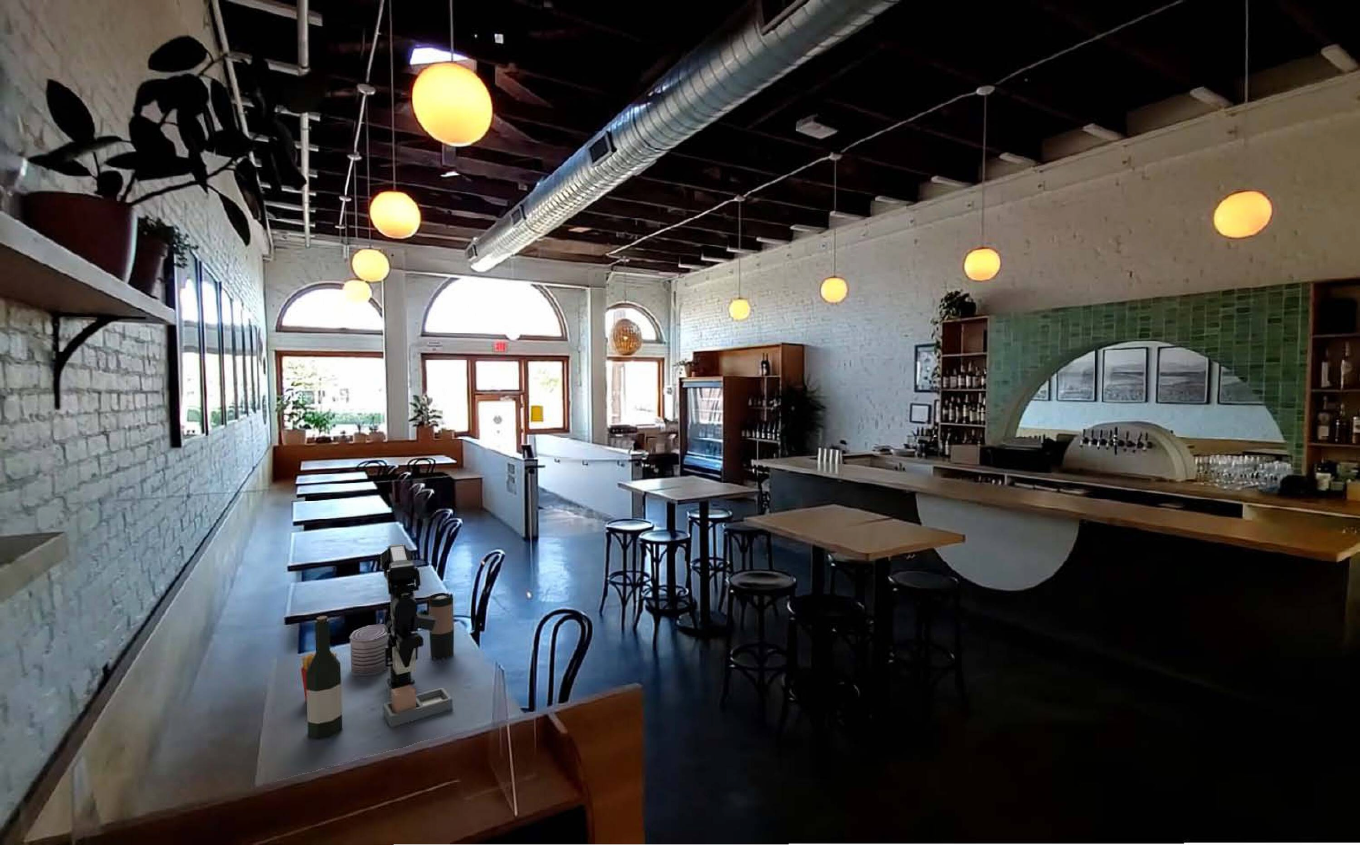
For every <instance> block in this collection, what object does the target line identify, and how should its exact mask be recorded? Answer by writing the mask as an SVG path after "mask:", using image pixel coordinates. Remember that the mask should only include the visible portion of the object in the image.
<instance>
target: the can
mask: <svg viewBox="0 0 1360 845" xmlns="http://www.w3.org/2000/svg"><path fill="white" fill-rule="evenodd" d="M385 625H386V624H384V623H383V624H381V623H380V624H370V625H366V626H362V627H360V628H358V629H355V630H353V632H351V634H350V635H349V637H348V638H349V639H350V640H349V643H350V644H349V645H350V670H351V673H352V672H353V673H352V674H353V676H360V675H362V676H363V677H365V675H366V676H372V674H373V675H377V674H379V672H380V673H382V672H384V671H383V670H385V671H387V670H386V669H389V668H390V666H388V667H386V665H385V647H386V646H387V641H388V639H389V637H388V635H391V632H390V633H388V634H387V633H386V631H385ZM388 659H390V658H388ZM381 671H382V672H381ZM376 673H377V674H376Z"/></svg>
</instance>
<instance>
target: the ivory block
mask: <svg viewBox="0 0 1360 845" xmlns="http://www.w3.org/2000/svg"><path fill="white" fill-rule="evenodd" d="M392 650H393V669H394V671H395V672H396V674H401V673H406V672H410V671H411V672H413V671H417V660H416V649H414V650H413V653H412V657H411V661H410V665H409V667H406V668H405V667H404V665H403V662H402V660H401V658H400V656H399V654H398V651H397V649H396V647H392Z"/></svg>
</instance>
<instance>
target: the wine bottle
mask: <svg viewBox="0 0 1360 845" xmlns="http://www.w3.org/2000/svg"><path fill="white" fill-rule="evenodd" d="M314 636H315V637H314V638H315V653H316V654H315V653H314V655H315V656H314V657H313V659H312V661H311V662H310V664H309V666H308V667H307V670H306V688H307V701H306V709H307V710H306V711H307V713H306V714H307V738H308V739H312V740H317V739H319V740H323V739H324V740H325V739H327V738H332V737H334V736H336V735H338V733H340V732H342V731H343V701H342V699H343V698H342V678H341V677H342V673H341V671H342V670H341V661H339V659H338V658H337V656H336V657H335V656H334V655H333V653H334V652H332V651H331V643H330V642H331V641H330V640H331V639H330V618H328V616H327V615H321V616H318V617H316V620H314Z"/></svg>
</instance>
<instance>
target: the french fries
mask: <svg viewBox="0 0 1360 845" xmlns="http://www.w3.org/2000/svg"><path fill="white" fill-rule="evenodd" d="M332 653H333V655H334V656H335V657H336V658H337V656H338V653H335V652H332ZM315 654H316V652H315V653H310V654H308V655H307V656H305V655H303V656H302V658H301V660H302V667H301V668H300V673H301V678H302V685H303V686H302V687H303V692H304V698H305V702H307V688H306V670H307V667H308V666H309V664H310V662H311V661H312V659H313V657H314V656H315Z"/></svg>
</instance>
